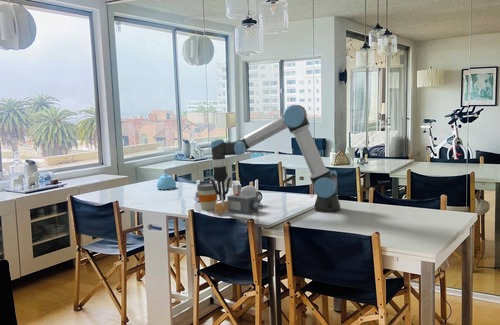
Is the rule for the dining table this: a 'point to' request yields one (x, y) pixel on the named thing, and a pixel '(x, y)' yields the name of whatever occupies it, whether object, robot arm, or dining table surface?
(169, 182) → the sugar bowl
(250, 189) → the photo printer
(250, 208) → the camera body
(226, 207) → the side door
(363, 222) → the dining table surface
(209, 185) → the reusable coffee cup
